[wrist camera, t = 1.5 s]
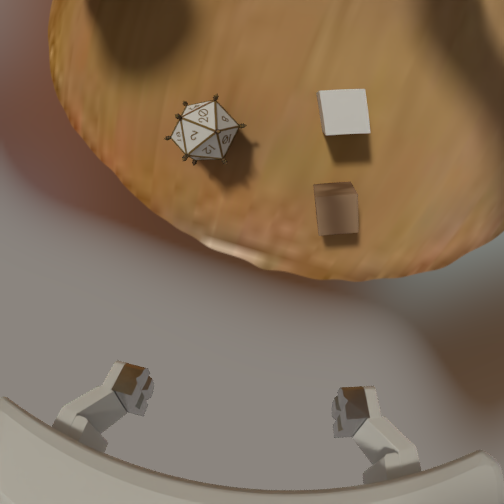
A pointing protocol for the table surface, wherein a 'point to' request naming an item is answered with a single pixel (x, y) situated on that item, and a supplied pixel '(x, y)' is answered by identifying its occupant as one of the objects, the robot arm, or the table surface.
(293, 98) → the table surface
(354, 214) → the walnut block
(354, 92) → the grey block
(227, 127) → the game die
